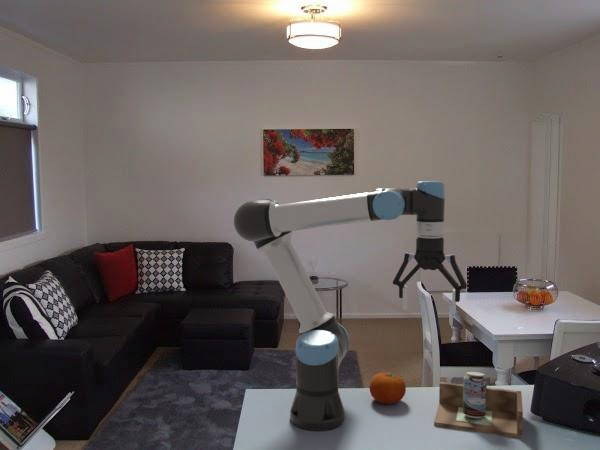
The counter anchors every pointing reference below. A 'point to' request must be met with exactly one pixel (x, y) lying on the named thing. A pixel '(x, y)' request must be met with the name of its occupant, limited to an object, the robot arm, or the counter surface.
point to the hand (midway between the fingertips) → (428, 311)
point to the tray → (499, 411)
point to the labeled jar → (474, 394)
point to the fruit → (387, 388)
